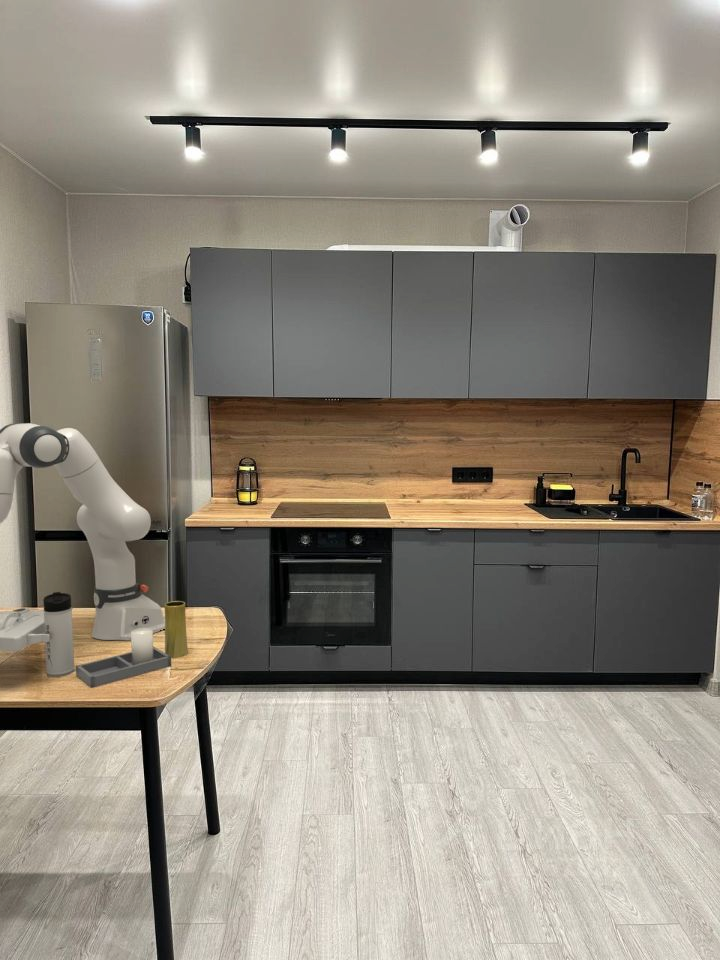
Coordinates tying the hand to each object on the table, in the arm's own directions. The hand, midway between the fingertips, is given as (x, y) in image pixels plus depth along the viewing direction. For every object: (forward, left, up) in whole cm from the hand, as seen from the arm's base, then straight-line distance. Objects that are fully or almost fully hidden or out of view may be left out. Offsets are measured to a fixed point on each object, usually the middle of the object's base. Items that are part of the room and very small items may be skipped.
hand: (59, 630), depth 164 cm
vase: (-27, +8, -11) cm, 30 cm away
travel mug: (0, 0, -11) cm, 11 cm away
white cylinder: (-17, +10, -10) cm, 22 cm away
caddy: (-12, +10, -11) cm, 19 cm away
